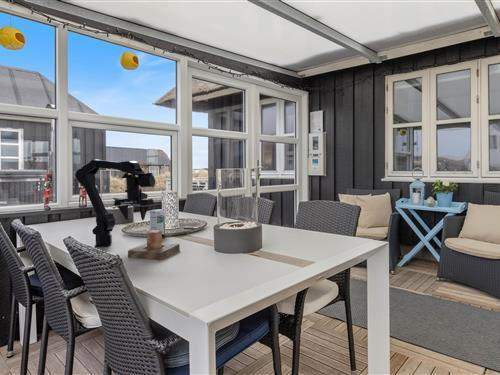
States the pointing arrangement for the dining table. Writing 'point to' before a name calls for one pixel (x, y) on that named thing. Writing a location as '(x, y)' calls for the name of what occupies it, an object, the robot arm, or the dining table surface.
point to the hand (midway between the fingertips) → (134, 219)
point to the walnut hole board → (153, 251)
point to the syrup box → (157, 220)
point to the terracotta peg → (154, 239)
